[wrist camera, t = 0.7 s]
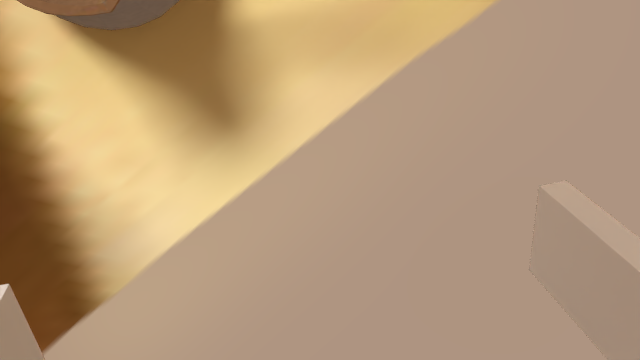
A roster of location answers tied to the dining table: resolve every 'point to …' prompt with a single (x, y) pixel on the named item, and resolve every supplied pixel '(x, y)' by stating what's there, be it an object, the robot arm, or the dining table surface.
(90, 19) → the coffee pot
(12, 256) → the dining table surface
